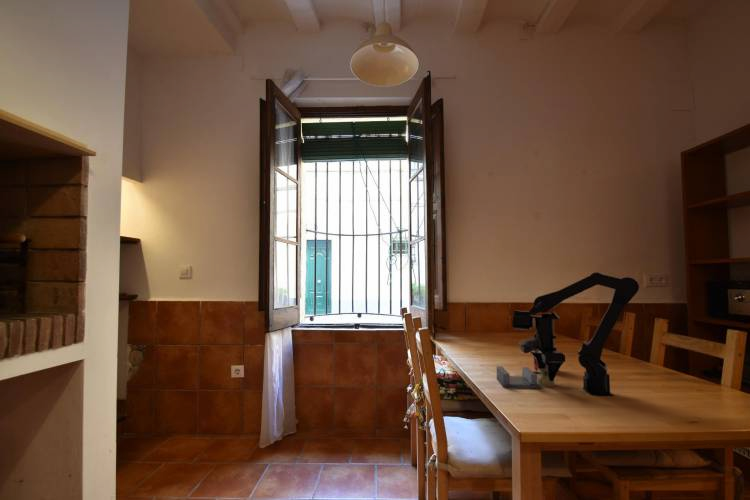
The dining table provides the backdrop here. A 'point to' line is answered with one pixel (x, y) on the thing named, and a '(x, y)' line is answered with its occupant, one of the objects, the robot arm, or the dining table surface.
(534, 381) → the jaw
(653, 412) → the dining table surface
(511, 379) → the vise base
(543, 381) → the block
